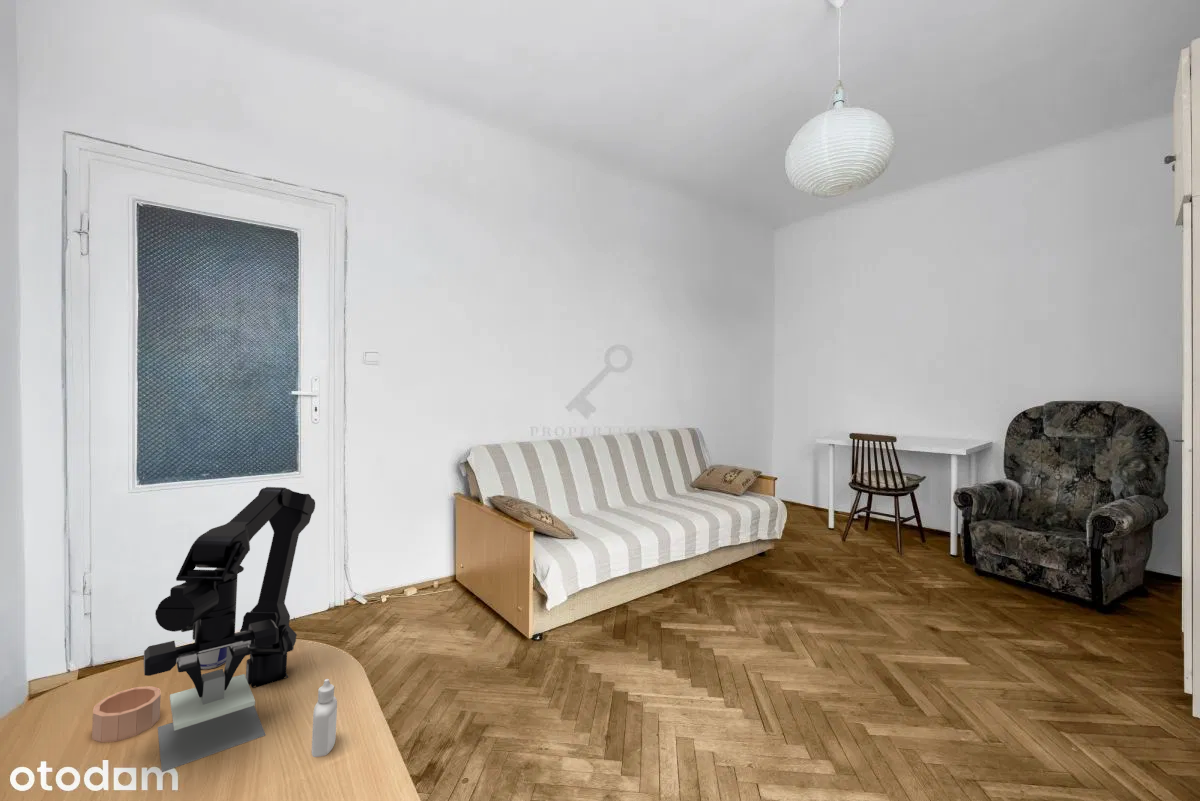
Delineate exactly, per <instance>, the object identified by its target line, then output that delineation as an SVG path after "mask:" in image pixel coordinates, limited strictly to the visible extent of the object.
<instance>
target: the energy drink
mask: <svg viewBox="0 0 1200 801" xmlns="http://www.w3.org/2000/svg"><path fill="white" fill-rule="evenodd" d="M226 657H227V647H226V648H222V649H218V650H213V651H209V652H205V653H201V654H199V657H198V658H199V661H200V666H201V670H211V669H215V668H218V667H222V666H223V665H225V663H226Z"/></svg>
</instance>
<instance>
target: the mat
mask: <svg viewBox="0 0 1200 801" xmlns="http://www.w3.org/2000/svg"><path fill="white" fill-rule="evenodd" d="M255 706H256V705H254V706H251V707H247V708H244V709H241V710H238V711H235V712H232V713H228V714H225V715H222V716H219V717H216V718H213V719H209V720H206V721H203V722H200V723H197V724H194V725H190V726H187V727H184V728H181V729H178V730H175V731H174V726H173V722H170V723H167V724H163V725H160V726H157V735H158V746H159V757H160V758H159V759H160V766H161V773H163V772H166V771H169V770H173V769H175V768H178V767H181V766H184V765H186V764H188V763H192V762H195V761H197V760H200V759H202V758H203V759H204V758H205V757H209V756H212V755H214V754H218V753H220V752H222V751H226V750H229V749H231V748H234V747H237V746H240V745H242V744H247V743H248V742H251V741H253V740H257V739H259V738H263V737H266V736H267V734H266V732H265V730H264V726H263V724H262V722H261V720H260V717H259V715H258V711H257V710H256V707H255Z"/></svg>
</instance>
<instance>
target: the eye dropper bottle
mask: <svg viewBox="0 0 1200 801" xmlns="http://www.w3.org/2000/svg"><path fill="white" fill-rule="evenodd" d="M317 693H318V694H317V702H316V704H315V705H314V708H313V712H312V713H313V715H312V731H311V733H312V734H311V735H312V737H311V738H312V739H311V756H312V757H313V758H319V757H325V756H327V755H328V754H329V753H330V752H331V751H332V750H333V748H334V746H335V743H336V737H337V734H336V733H337V716H338V700H337V697H336V696H335V686H334V684H331V683H330V679H329V678H326V679H324V681H323V685H322V686H320V687H319V688H318V691H317Z"/></svg>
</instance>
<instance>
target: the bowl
mask: <svg viewBox="0 0 1200 801" xmlns="http://www.w3.org/2000/svg"><path fill="white" fill-rule="evenodd" d="M161 694H162V692H161V689H160V688H158V687H155V686H152V685H150V686H149V685H147V686H145V685H144V686H136V687H132V688H128V689H125V690H124V689H123V690H120V691H117V692H116V693H113V694H111V695H109V696H106V697H104V698H102V699H101V700H100V701H99V702H97V703H96V704H95V705H94V706H93V711H92V727H91V728H92V729H91V740H94V741H96V742H99V743H110V742H111V743H112V742H118V741H122V740H126V739H129V738H132V737H136V736H137V735H140V734H141V733H143V732H145V731H147V730H149V729H151V728H152V727H153V726H154V725H155V724H156V723H157V722H158V721H159V720H160V718H161V700H162V699H161V697H162V696H161Z"/></svg>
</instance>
